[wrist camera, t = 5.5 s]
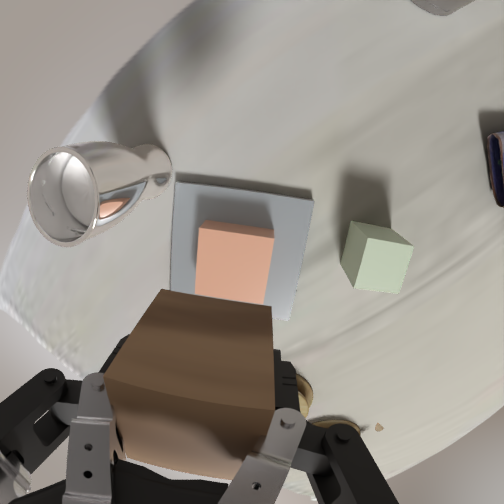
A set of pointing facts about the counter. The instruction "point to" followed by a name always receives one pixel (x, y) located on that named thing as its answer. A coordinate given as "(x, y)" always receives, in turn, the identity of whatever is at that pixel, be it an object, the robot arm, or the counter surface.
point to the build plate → (243, 213)
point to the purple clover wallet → (496, 165)
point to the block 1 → (194, 383)
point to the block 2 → (375, 258)
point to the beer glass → (92, 187)
